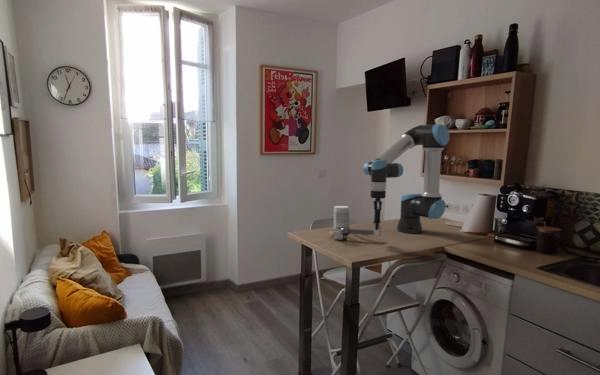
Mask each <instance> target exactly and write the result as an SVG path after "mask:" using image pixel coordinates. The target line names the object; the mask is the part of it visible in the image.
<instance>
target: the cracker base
mask: <svg viewBox="0 0 600 375" xmlns="http://www.w3.org/2000/svg"><path fill="white" fill-rule="evenodd" d="M326 239H327V240H329V241H332V242H333V243H337V244H340V245H342V246H344V247H348V248H357V247H360V246H366V245H370V244H371V245H372V244H376V243H381V242H383V240H381V239H377V238H375V237H371V236H368V235H366V234H349V235H347V240H336V239H331V238H330V237H328V238H326Z"/></svg>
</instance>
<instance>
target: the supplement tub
mask: <svg viewBox="0 0 600 375" xmlns="http://www.w3.org/2000/svg"><path fill="white" fill-rule="evenodd" d="M342 227H347V228H350V207H349V206H347V205H335V206H333V229H335V230H341V228H342Z"/></svg>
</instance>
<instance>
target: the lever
mask: <svg viewBox="0 0 600 375" xmlns="http://www.w3.org/2000/svg"><path fill="white" fill-rule="evenodd" d="M381 229H382V228H381V225H380V230H379V236H378V237H381V232H382V230H381ZM333 231H334V239H336V240H347V235H350V234H362V235H373V236H375V235H374V229H358V228H357V229H356V228H355V229H354V228H350V227H349V228H347V227H342V228H341V229H339V230H333Z"/></svg>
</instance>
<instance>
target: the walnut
mask: <svg viewBox="0 0 600 375" xmlns="http://www.w3.org/2000/svg"><path fill="white" fill-rule="evenodd" d="M334 231H335V230H331V231H329V238H331V239H334Z"/></svg>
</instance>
